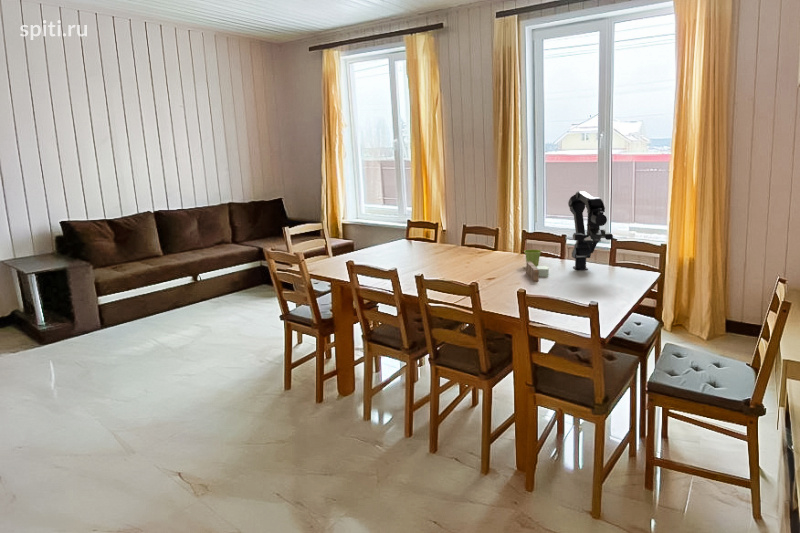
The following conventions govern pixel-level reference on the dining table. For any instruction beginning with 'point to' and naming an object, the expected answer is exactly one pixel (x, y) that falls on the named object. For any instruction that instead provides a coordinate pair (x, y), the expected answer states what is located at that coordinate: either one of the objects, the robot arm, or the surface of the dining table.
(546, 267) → the sage block
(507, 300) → the dining table surface
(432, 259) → the dining table surface
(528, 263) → the walnut batten
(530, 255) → the plant pot
